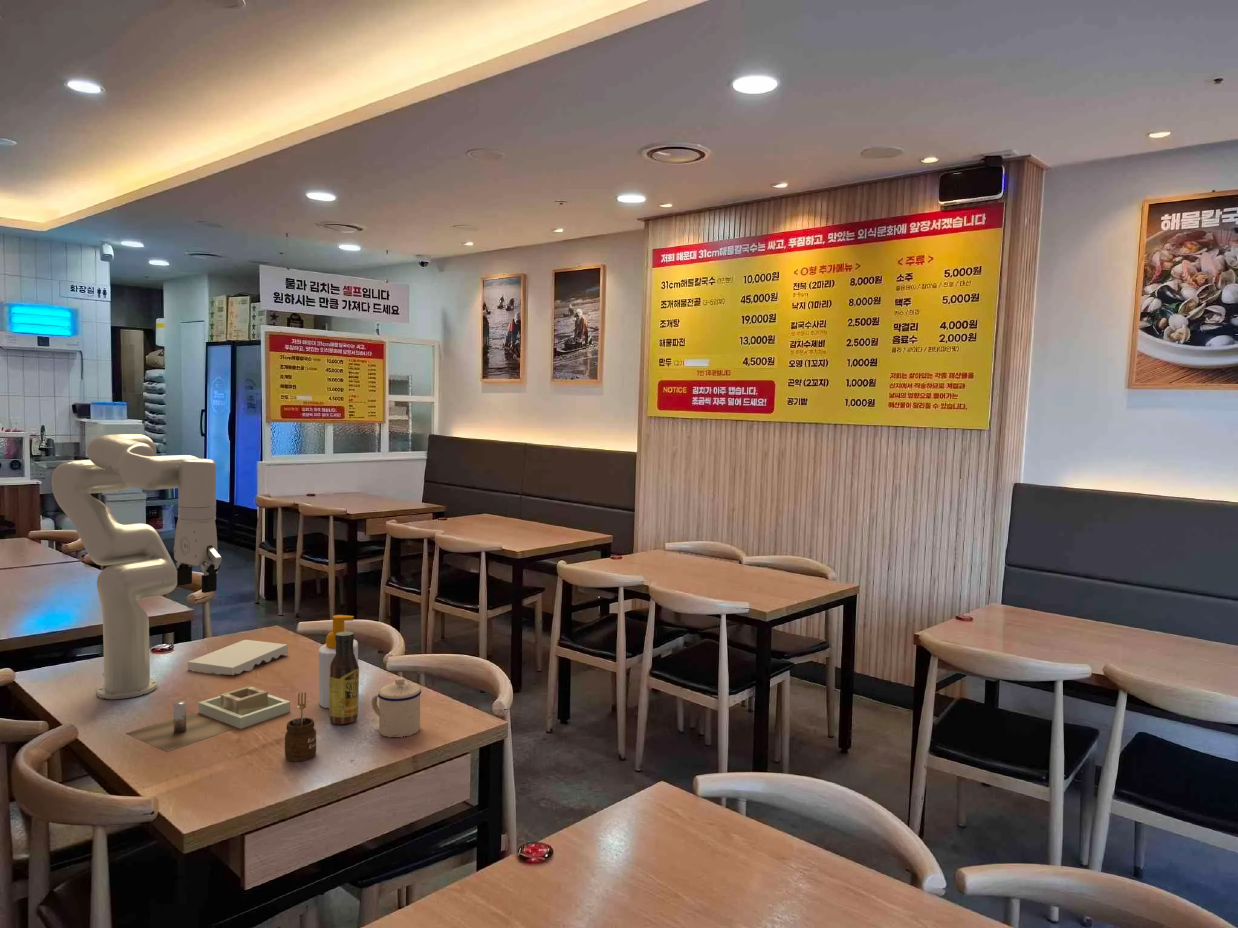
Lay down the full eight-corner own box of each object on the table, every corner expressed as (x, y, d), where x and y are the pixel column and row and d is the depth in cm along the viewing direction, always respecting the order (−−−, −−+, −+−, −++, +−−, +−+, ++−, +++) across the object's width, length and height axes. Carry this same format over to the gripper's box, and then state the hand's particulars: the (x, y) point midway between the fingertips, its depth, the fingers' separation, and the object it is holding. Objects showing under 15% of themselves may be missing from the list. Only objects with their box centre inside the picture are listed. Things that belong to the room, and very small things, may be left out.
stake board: (125, 740, 168) (125, 733, 168) (191, 719, 180) (191, 712, 180) (167, 759, 160) (167, 751, 159) (233, 735, 171) (233, 728, 171)
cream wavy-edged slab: (233, 680, 208) (288, 656, 227) (232, 667, 208) (287, 644, 227) (188, 673, 213) (245, 650, 232) (187, 661, 213) (245, 639, 232)
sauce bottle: (349, 727, 177) (348, 638, 176) (323, 724, 178) (323, 636, 177) (364, 716, 183) (364, 630, 182) (339, 713, 185) (339, 628, 183)
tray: (198, 718, 180) (198, 702, 180) (248, 702, 190) (248, 687, 190) (240, 735, 172) (240, 717, 171) (290, 717, 182) (290, 701, 181)
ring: (220, 716, 180) (220, 694, 180) (249, 706, 186) (249, 685, 185) (239, 723, 176) (238, 700, 176) (268, 713, 182) (267, 691, 182)
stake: (171, 731, 169) (170, 703, 169) (182, 727, 171) (182, 700, 171) (177, 734, 168) (177, 706, 168) (188, 730, 170) (188, 702, 170)
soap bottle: (345, 709, 187) (345, 623, 186) (310, 708, 188) (310, 623, 186) (365, 689, 201) (365, 609, 199) (332, 689, 201) (332, 609, 199)
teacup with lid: (429, 726, 178) (429, 675, 177) (403, 741, 170) (403, 687, 169) (386, 717, 183) (386, 667, 182) (358, 731, 175) (358, 679, 174)
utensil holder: (283, 763, 158) (282, 704, 158) (287, 750, 165) (286, 693, 164) (314, 760, 160) (314, 701, 159) (317, 747, 166) (317, 691, 165)
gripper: (159, 510, 183) (159, 584, 184) (203, 520, 173) (202, 597, 175) (192, 507, 189) (191, 579, 190) (235, 516, 180) (234, 591, 181)
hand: (196, 588), depth 183 cm, fingers open, 9 cm apart
